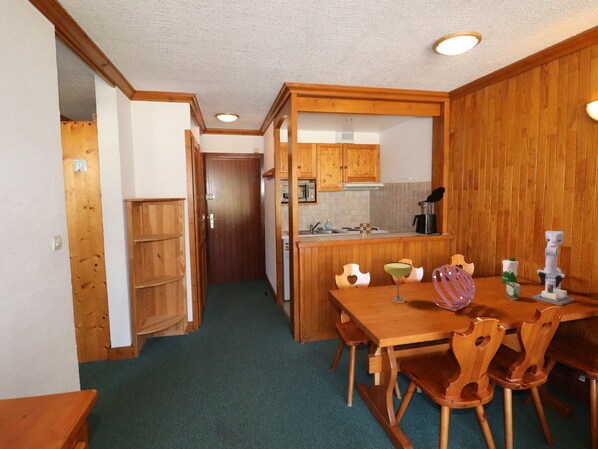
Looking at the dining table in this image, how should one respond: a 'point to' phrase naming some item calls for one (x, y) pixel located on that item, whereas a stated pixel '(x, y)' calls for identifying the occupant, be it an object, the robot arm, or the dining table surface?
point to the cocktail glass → (398, 272)
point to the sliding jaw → (550, 293)
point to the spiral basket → (460, 301)
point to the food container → (512, 290)
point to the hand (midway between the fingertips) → (550, 285)
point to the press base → (561, 301)
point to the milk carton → (510, 270)
